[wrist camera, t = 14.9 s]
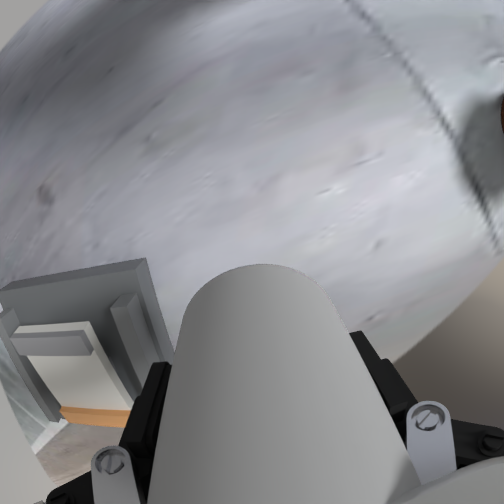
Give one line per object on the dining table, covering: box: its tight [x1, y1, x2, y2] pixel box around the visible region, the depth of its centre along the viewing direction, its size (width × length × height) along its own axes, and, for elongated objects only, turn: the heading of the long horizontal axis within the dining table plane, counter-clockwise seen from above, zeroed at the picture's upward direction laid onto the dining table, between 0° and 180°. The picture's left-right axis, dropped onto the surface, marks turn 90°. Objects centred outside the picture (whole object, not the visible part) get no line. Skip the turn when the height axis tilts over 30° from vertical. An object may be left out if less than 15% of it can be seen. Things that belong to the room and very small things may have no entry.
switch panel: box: [0, 258, 175, 422], centre depth 26 cm, size 18×18×6 cm
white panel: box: [10, 321, 134, 427], centre depth 23 cm, size 12×9×2 cm
